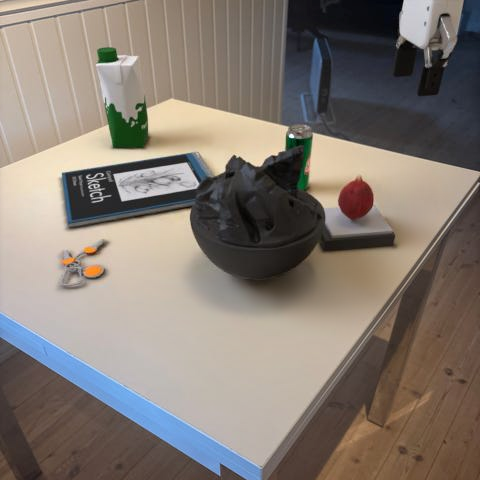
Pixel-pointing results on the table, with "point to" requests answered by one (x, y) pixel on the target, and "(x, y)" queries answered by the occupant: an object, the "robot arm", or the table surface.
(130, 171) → the sketchbook
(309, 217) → the coal bowl
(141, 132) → the milk carton
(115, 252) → the table surface
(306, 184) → the soda can
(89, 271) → the key chain
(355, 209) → the onion
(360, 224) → the scale
